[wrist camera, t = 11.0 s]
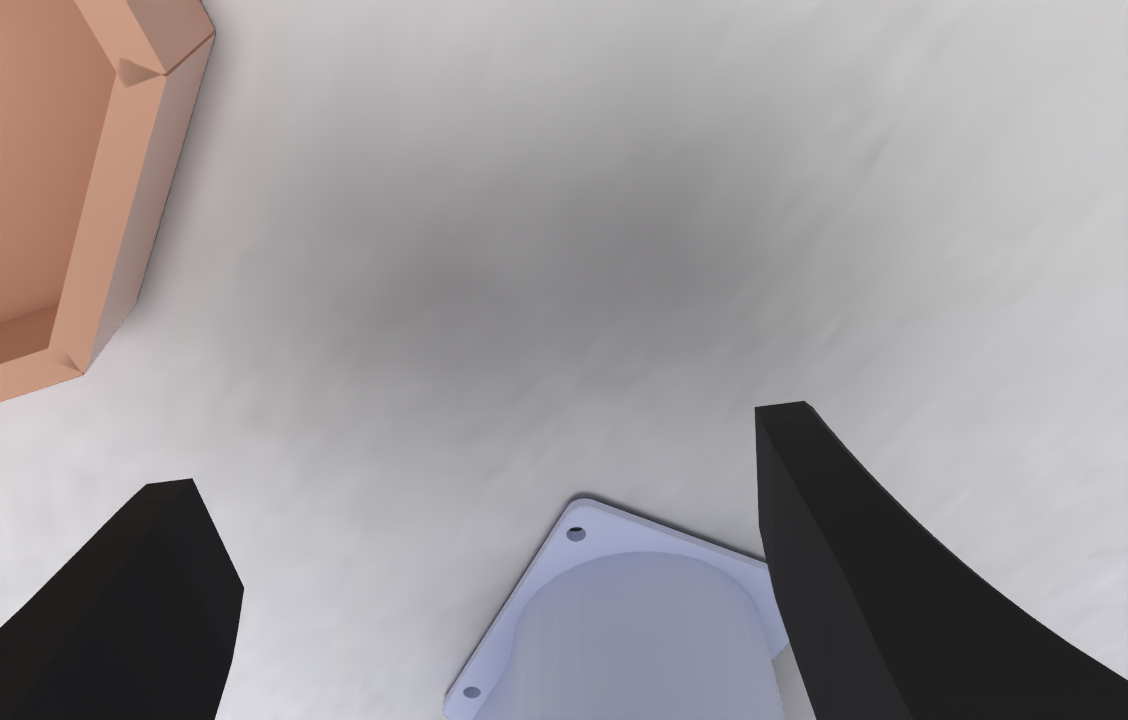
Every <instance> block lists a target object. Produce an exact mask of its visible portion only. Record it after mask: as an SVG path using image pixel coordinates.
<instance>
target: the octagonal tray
mask: <svg viewBox="0 0 1128 720" xmlns="http://www.w3.org/2000/svg"><path fill="white" fill-rule="evenodd" d="M214 30H215V28H214V26H213V24H212V22H211V20H210V18H209V16H208V15H207V13H206V11H205V9H204V7H203V5H202V3H201V1H200V0H0V402H2V401H5V400H8V399H12V398H15V397H18V396H21V395H24V394H27V393H30V392H33V391H36V390H40V389H43V388H46V387H49V386H52V385H55V384H58V383H61V382H64V381H67V380H71V379H74V378H77V377H80V376H83V375H84V374H85V373H86V372H87V371H88V369H89V368H90V366H91V365H92V364H93V362H94V361H95V359H96V358H97V357H98V355H99V354H100V352H101V351H102V350H103V348H104V347H105V346H106V344H107V343H108V341H109V340H110V339H111V337H112V336H113V334H114V333H115V332H116V330H117V329H118V328H119V326H120V325H121V323H122V322H123V321H124V319H125V318H126V316H127V315H128V314H129V312H130V311H131V309H132V308H133V307H134V305H135V304H136V302H137V299H138V295H139V292H140V289H141V285H142V282H143V279H144V275H145V272H146V268H147V265H148V262H149V258H150V255H151V251H152V248H153V245H154V241H155V238H156V234H157V231H158V228H159V224H160V221H161V217H162V214H163V211H164V207H165V204H166V201H167V197H168V194H169V190H170V187H171V184H172V180H173V177H174V173H175V170H176V167H177V163H178V160H179V156H180V153H181V150H182V146H183V143H184V139H185V136H186V133H187V129H188V126H189V123H190V119H191V116H192V112H193V109H194V106H195V102H196V99H197V95H198V92H199V89H200V85H201V82H202V78H203V75H204V72H205V68H206V65H207V61H208V58H209V55H210V51H211V48H212V45H213V41H214V38H215V34H216V33H214V32H213V31H214Z"/></svg>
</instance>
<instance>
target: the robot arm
mask: <svg viewBox="0 0 1128 720" xmlns="http://www.w3.org/2000/svg"><path fill="white" fill-rule="evenodd" d="M755 427H756V455H757V483H758V510H759V528H760V533H761V538H762V542H763V547H764V552H765V556H766V561H767V564H766V563H764V562H761V561H758V560H755V559H753V558H750V557H747V556H744V555H742V554H739V553H736V552H734V551H731V550H728V549H725V548H723V547H720V546H717V545H715V544H712V543H709V542H706V541H704V540H701V539H698V538H696V537H693V536H690V535H687V534H685V533H682V532H679V531H676V530H674V529H671V528H668V527H666V526H663V525H660V524H657V523H655V522H652V521H649V520H647V519H644V518H641V517H638V516H636V515H633V514H630V513H628V512H625V511H622V510H619V509H617V508H614V507H611V506H608V505H606V504H603V503H600V502H598V501H595V500H592V499H587V498H584V499H577V500H575V501H573V502H571V503H570V504H569V505H568V506H567V508H566V509H565V511H564V513H563V514H562V516H561V517H560V519H559V520H558V522H557V524H556V525H555V527H554V528H553V530H552V531H551V533H550V535H549V536H548V538H547V539H546V541H545V542H544V544H543V545H542V547H541V549H540V550H539V552H538V553H537V555H536V556H535V558H534V560H533V561H532V563H531V564H530V566H529V567H528V569H527V570H526V572H525V574H524V575H523V577H522V578H521V580H520V581H519V583H518V585H517V586H516V588H515V589H514V591H513V592H512V594H511V596H510V597H509V599H508V600H507V602H506V603H505V605H504V606H503V608H502V610H501V611H500V613H499V614H498V616H497V617H496V619H495V621H494V622H493V624H492V625H491V627H490V628H489V630H488V631H487V633H486V635H485V636H484V638H483V639H482V641H481V642H480V644H479V646H478V647H477V649H476V650H475V652H474V653H473V655H472V657H471V658H470V660H469V661H468V663H467V664H466V666H465V667H464V669H463V671H462V672H461V674H460V675H459V677H458V678H457V680H456V682H455V683H454V685H453V686H452V688H451V689H450V691H449V692H448V694H447V696H446V697H445V699H444V703H443V713H444V715H445V716H446V717H447V718H448V719H450V720H786V718H785V714H784V710H783V706H782V702H781V698H780V694H779V690H778V685H777V681H776V677H775V673H774V669H773V665H772V661H773V660H774V658H775V657H776V656H777V655H778V654H779V653H780V652H781V650H782V649H783V648H784V647H785V646H786V645H787V644H788V642H789V641H790V644H791V647H792V650H793V653H794V656H795V659H796V662H797V665H798V667H799V670H800V673H801V676H802V679H803V682H804V685H805V688H806V690H807V693H808V696H809V699H810V702H811V705H812V708H813V711H814V714H815V716H816V719H817V720H1128V680H1126V679H1125V678H1123V677H1122V676H1120V675H1119V674H1117V673H1115V672H1114V671H1112V670H1111V669H1109V668H1107V667H1106V666H1104V665H1103V664H1101V663H1100V662H1098V661H1096V660H1095V659H1093V658H1092V657H1090V656H1089V655H1087V654H1085V653H1084V652H1082V651H1081V650H1079V649H1078V648H1076V647H1074V646H1073V645H1071V644H1070V643H1068V642H1067V641H1065V640H1064V639H1063V638H1061V637H1060V636H1058V635H1057V634H1056V633H1054V632H1053V631H1051V630H1050V629H1048V628H1047V627H1046V626H1044V625H1043V624H1041V623H1040V622H1039V621H1037V620H1036V619H1034V618H1033V617H1032V616H1030V615H1029V614H1028V613H1026V612H1025V611H1024V610H1022V609H1021V608H1020V607H1018V606H1017V605H1016V604H1014V603H1013V602H1012V601H1011V600H1009V599H1008V598H1007V597H1005V596H1004V595H1003V594H1001V593H1000V592H999V591H997V590H996V589H995V588H994V587H992V586H991V585H990V584H989V583H987V582H986V581H985V580H984V579H983V578H981V577H980V576H979V575H978V574H977V573H975V572H974V571H973V570H972V569H971V568H969V567H968V566H967V565H966V564H965V563H963V562H962V561H961V560H960V559H959V558H958V557H957V556H955V555H954V554H953V553H952V552H951V551H950V550H949V549H948V548H946V547H945V546H944V545H943V544H942V543H941V542H940V541H938V540H937V539H936V538H935V537H934V536H933V535H932V534H931V533H930V532H929V531H928V530H926V529H925V528H924V527H923V526H922V525H921V524H920V523H919V522H918V521H917V520H916V519H915V518H914V517H913V516H912V515H911V514H910V513H909V512H908V511H907V510H906V509H905V508H904V507H903V506H902V505H901V504H900V503H899V502H898V501H897V500H896V499H895V498H894V497H893V496H892V495H891V494H890V493H889V492H888V491H887V490H886V489H885V488H884V487H882V486H881V485H880V483H879V482H878V481H877V480H876V479H875V478H874V477H873V476H872V475H871V474H870V473H869V472H868V471H867V470H866V469H865V468H864V466H863V465H862V464H861V463H860V462H859V461H858V460H857V459H856V458H855V457H854V455H853V454H852V453H851V452H850V451H849V450H848V449H847V448H846V447H845V445H844V444H843V443H842V442H841V441H840V440H839V439H838V437H837V436H836V435H835V434H834V433H833V431H832V430H831V429H830V428H829V427H828V425H827V424H826V423H825V422H824V421H823V419H822V418H821V417H820V416H819V414H818V413H817V412H816V411H815V409H814V408H813V407H812V406H810V405H809V404H808V403H806V402H805V401H800V402H792V403H784V404H776V405H768V406H760V407H755ZM573 527H581V528H582V530H581V531H577V532H575V531H570V530H569V529H570V528H573ZM243 592H244V587H243V584H242V582H241V580H240V578H239V576H238V574H237V572H236V570H235V568H234V565H233V563H232V561H231V559H230V557H229V555H228V553H227V551H226V549H225V546H224V544H223V542H222V540H221V538H220V536H219V534H218V532H217V530H216V527H215V525H214V523H213V521H212V519H211V517H210V515H209V513H208V511H207V508H206V506H205V504H204V502H203V500H202V498H201V496H200V494H199V492H198V489H197V487H196V485H195V483H194V481H193V479H192V478H191V479H183V480H175V481H167V482H159V483H151V484H146V485H145V486H144V487H143V488H142V489H141V490H140V491H138V492H137V493H136V494H135V495H134V496H133V497H132V498H131V499H130V500H129V501H128V502H127V503H126V504H125V505H124V506H123V507H122V508H120V509H119V510H118V511H117V512H116V513H115V514H114V515H113V516H112V517H111V518H110V519H109V520H108V521H107V522H106V523H105V524H104V525H103V526H102V527H101V529H100V530H99V531H98V532H97V533H96V534H95V535H94V536H93V537H92V538H91V539H90V540H89V541H88V542H87V543H86V544H85V545H84V546H83V547H82V548H81V549H80V550H79V551H78V552H77V553H76V554H75V555H74V556H73V557H72V558H71V559H70V560H69V561H68V562H67V563H66V564H65V565H64V566H63V567H62V568H61V569H60V570H59V571H58V572H57V573H56V574H55V575H54V576H53V577H52V578H51V579H50V580H49V581H48V582H47V583H46V584H45V585H44V586H43V587H42V588H41V589H40V590H39V591H38V592H37V593H36V594H35V595H34V596H33V597H32V598H31V599H30V600H29V601H28V602H27V603H26V604H25V605H24V606H23V607H22V608H21V609H20V610H19V611H18V612H17V613H16V614H14V615H13V616H12V617H11V618H10V619H9V620H8V621H7V622H6V623H5V624H4V625H3V626H2V627H0V720H215V717H216V713H217V710H218V707H219V703H220V700H221V697H222V694H223V690H224V687H225V684H226V680H227V677H228V674H229V670H230V667H231V663H232V659H233V654H234V648H235V643H236V637H237V632H238V626H239V619H240V612H241V606H242V599H243ZM473 687H474V688H473Z"/></svg>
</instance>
